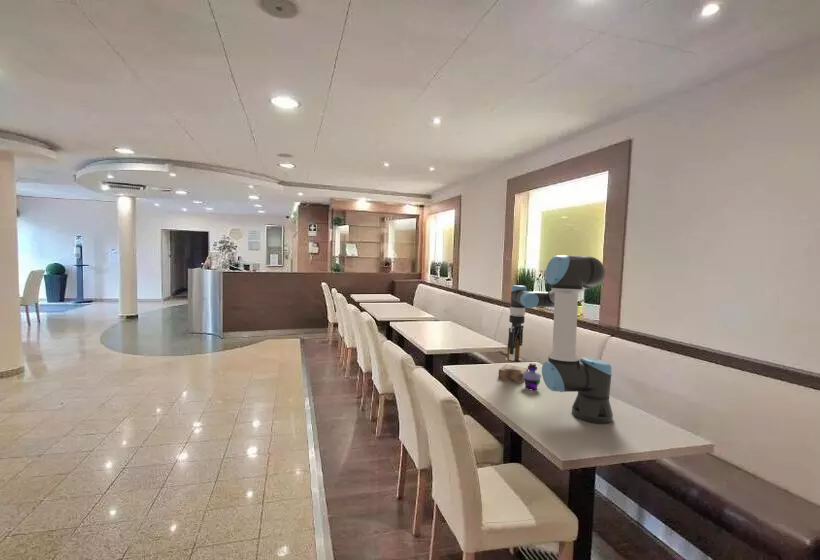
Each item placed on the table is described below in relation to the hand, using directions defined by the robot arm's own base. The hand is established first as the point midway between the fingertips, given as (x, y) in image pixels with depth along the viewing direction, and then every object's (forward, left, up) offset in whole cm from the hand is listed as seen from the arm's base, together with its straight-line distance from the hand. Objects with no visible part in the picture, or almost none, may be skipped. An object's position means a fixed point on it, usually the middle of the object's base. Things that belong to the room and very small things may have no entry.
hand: (514, 358), depth 205 cm
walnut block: (0, 0, -10) cm, 10 cm away
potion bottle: (-13, +9, -10) cm, 19 cm away
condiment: (0, 0, -1) cm, 1 cm away
